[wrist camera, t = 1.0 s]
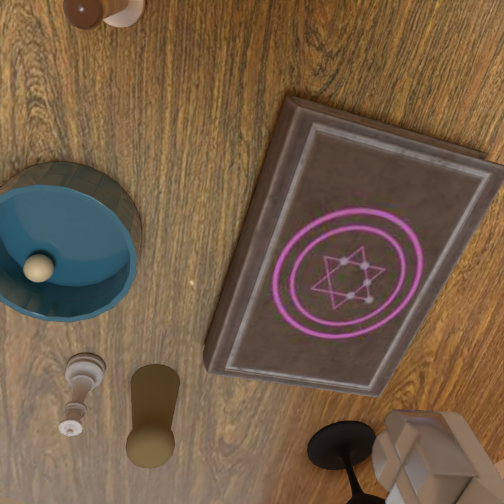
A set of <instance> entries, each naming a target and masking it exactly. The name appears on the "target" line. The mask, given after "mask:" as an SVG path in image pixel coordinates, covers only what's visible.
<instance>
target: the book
mask: <svg viewBox="0 0 504 504" xmlns="http://www.w3.org/2000/svg"><path fill="white" fill-rule="evenodd" d="M486 155H487V154H486V153H484V152H481V151H477V150H474V149H471V148H467V147H464V146H461V145H457V144H454V143H451V142H447V141H444V140H440V139H437V138H434V137H430V136H427V135H424V134H420V133H417V132H414V131H410V130H407V129H404V128H400V127H397V126H394V125H390V124H387V123H384V122H380V121H377V120H374V119H370V118H367V117H364V116H360V115H357V114H354V113H350V112H347V111H344V110H340V109H337V108H334V107H330V106H327V105H323V104H320V103H317V102H313V101H310V100H307V99H303V98H300V97H297V96H293V95H290V94H287V96H286V97H285V100H284V103H283V107H282V110H281V113H280V116H279V119H278V122H277V125H276V128H275V131H274V134H273V137H272V141H271V144H270V147H269V150H268V153H267V156H266V159H265V162H264V165H263V168H262V171H261V174H260V178H259V181H258V184H257V187H256V190H255V193H254V196H253V199H252V202H251V205H250V208H249V212H248V215H247V218H246V221H245V224H244V227H243V230H242V233H241V236H240V239H239V242H238V246H237V249H236V252H235V255H234V258H233V261H232V264H231V267H230V270H229V273H228V276H227V280H226V283H225V286H224V289H223V292H222V295H221V298H220V301H219V304H218V307H217V310H216V313H215V317H214V320H213V323H212V326H211V329H210V332H209V335H208V338H207V341H206V344H205V347H204V351H203V363H204V366H205V368H206V371H207V373H208V374H213V375H220V376H227V377H234V378H242V379H249V380H256V381H263V382H270V383H278V384H285V385H292V386H299V387H306V388H313V389H321V390H328V391H335V392H342V393H349V394H356V395H364V396H371V397H378V398H380V396H381V394H382V393H383V391H384V389H385V387H386V386H387V384H388V382H389V381H390V379H391V377H392V375H393V374H394V372H395V370H396V368H397V367H398V365H399V363H400V361H401V360H402V358H403V356H404V355H405V353H406V351H407V349H408V348H409V346H410V344H411V342H412V341H413V339H414V337H415V335H416V334H417V332H418V330H419V328H420V327H421V325H422V323H423V322H424V320H425V318H426V316H427V315H428V313H429V311H430V309H431V308H432V306H433V304H434V302H435V301H436V299H437V297H438V295H439V294H440V292H441V290H442V289H443V287H444V285H445V283H446V282H447V280H448V278H449V276H450V275H451V273H452V271H453V269H454V268H455V266H456V264H457V263H458V261H459V259H460V257H461V256H462V254H463V252H464V250H465V249H466V247H467V245H468V243H469V242H470V240H471V238H472V236H473V235H474V233H475V231H476V230H477V228H478V226H479V224H480V223H481V221H482V219H483V217H484V216H485V214H486V212H487V210H488V209H489V207H490V205H491V203H492V202H493V200H494V198H495V197H496V195H497V193H498V191H499V190H500V188H501V186H502V184H503V183H504V165H501V164H498V163H495V162H491V161H488V160H484V159H485V157H486Z"/></svg>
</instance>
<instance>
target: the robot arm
mask: <svg viewBox="0 0 504 504" xmlns="http://www.w3.org/2000/svg"><path fill="white" fill-rule="evenodd" d="M384 423H385V425H386V427H387V429H386V430H384V431H383V432H381V433H380V434H379V435H377V437H376V439H375V442H374V444H373V446H372V464H373V470H374V473H375V475H376V478H377V481H378V482H379V483H380V484H381V485H382V486H383V487H384V488H385V489H386V490H387V491H388V493H387V496H386V500H385V502H386V504H504V479H503V478H502V477H501V476H500V474H499V472H498V471H497V469H496V468H495V466H494V464H493V463H492V461H491V460H490V458H489V457H488V455H487V453H486V452H485V450H484V449H483V447H482V446H481V444H480V442H479V441H478V439H477V438H476V436H475V435H474V433H473V431H472V430H471V428H470V427H469V425H468V424H467V422H466V420H465V419H464V418H463V416H461V415H460V414H459V413H457V412H440V411H435V412H434V411H422V410H401V409H393V410H391V411H390V412H389V413H388V414H387V416H386V418H385V420H384Z"/></svg>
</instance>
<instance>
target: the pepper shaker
mask: <svg viewBox="0 0 504 504" xmlns="http://www.w3.org/2000/svg"><path fill="white" fill-rule="evenodd" d="M179 384H180V380H179V376H178V375H177V373H176V372H175V371H174V370H172V369H171V368H169V367H167V366H164V365H157V364H154V365H147V366H145V367H142V368H140V369H139V370H137V371H136V372H135V373H134V375H133V376H132V379H131V402H132V426H133V429H132V431H131V432H130V433H129V435H128V438H127V442H126V452H127V456H128V458H129V459H130V461H131V462H132V463H133V464H135V465H136V466H138V467H142V468H156V467H159V466H162V465H163V464H165V463H166V462H167V461H168V460H169V459H170V457H171V456H172V454H173V451H174V447H175V440H174V435H173V432H172V431H171V425H172V420H173V415H174V410H175V404H176V399H177V394H178V389H179Z"/></svg>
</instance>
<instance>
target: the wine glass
mask: <svg viewBox="0 0 504 504" xmlns="http://www.w3.org/2000/svg"><path fill="white" fill-rule="evenodd" d="M375 439H376V436H375V433H374V431H373V430H372V429H371V428H370V427H369V426H367V425H366V424H363V423H360V422H356V421H343V422H338V423H334V424H331V425H329V426H327V427H325V428H323V429H321V430H320V431H319V432H317V433H316V434H315V435H314V436H313V438H312V439H311V440H310V442H309V444H308V449H307V452H308V457H309V459H310V460H311V462H312V463H313V464H315V465H316V466H318V467H320V468H323V469H327V470H340V469H346V471H347V474H348V477H349V480H350V484H351V489H352V498H351V499H350V500H349V501H348V502H347V503H346V504H386V502H385V500H384V499H382V498H380V497H377V496H373V495H369V494H365V493H364V492H363V491H362V489H361V488H360V486H359V483H358V481H357V478H356V476H355V473H354V470H353V467H352V466H355V465H357V464H359V463H361V462H362V461H364V460H365V459H366V458H367V457H368V456H369V455H370V454H371V453H372V446H373V444H374V442H375Z"/></svg>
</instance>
